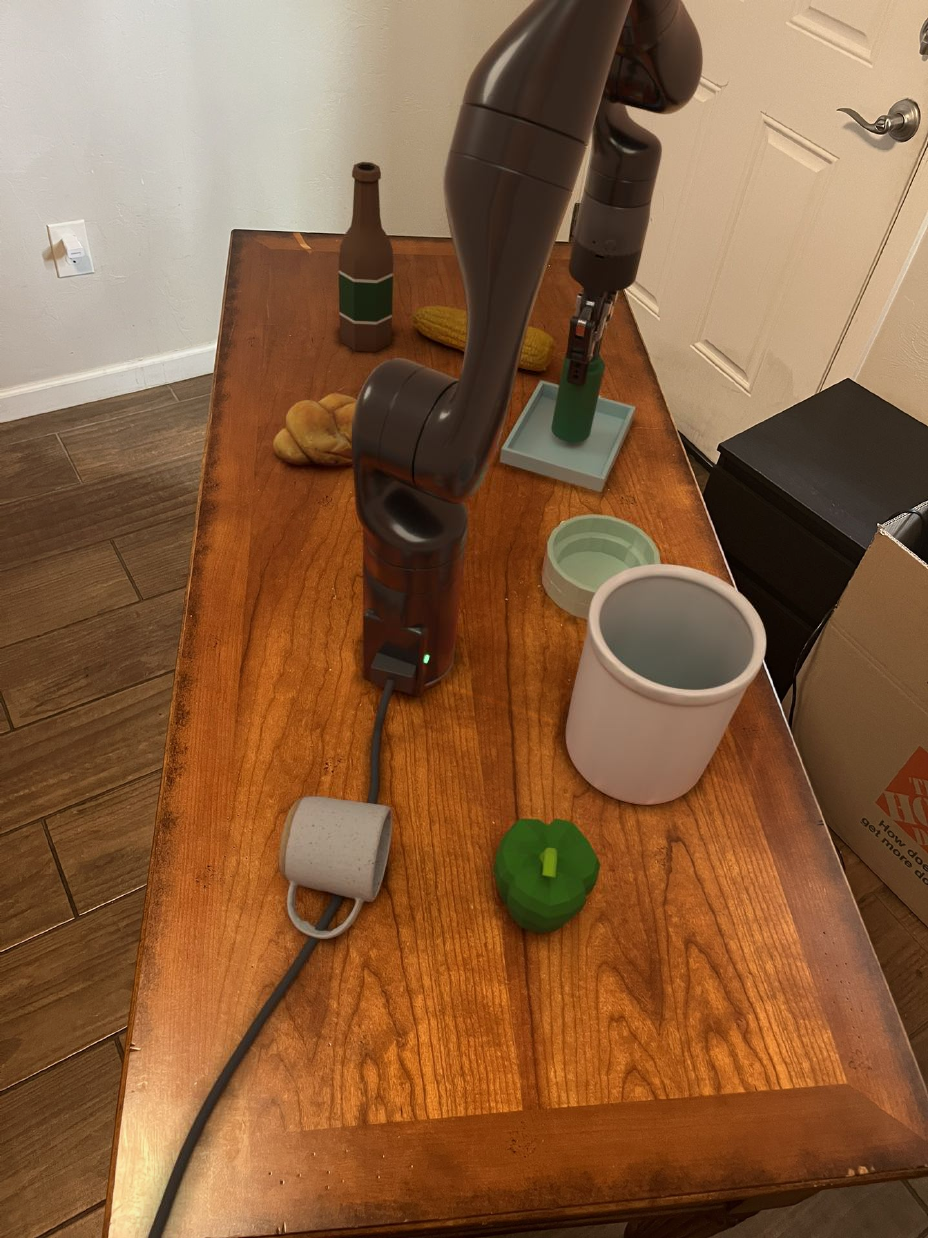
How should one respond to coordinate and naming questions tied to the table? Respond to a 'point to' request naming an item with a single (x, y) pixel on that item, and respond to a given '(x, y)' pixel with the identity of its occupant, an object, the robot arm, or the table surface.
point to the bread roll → (318, 432)
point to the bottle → (577, 401)
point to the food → (453, 326)
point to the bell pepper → (544, 873)
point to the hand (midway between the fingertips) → (582, 370)
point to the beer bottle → (366, 269)
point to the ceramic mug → (334, 852)
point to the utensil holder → (659, 680)
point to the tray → (567, 460)
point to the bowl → (591, 558)
